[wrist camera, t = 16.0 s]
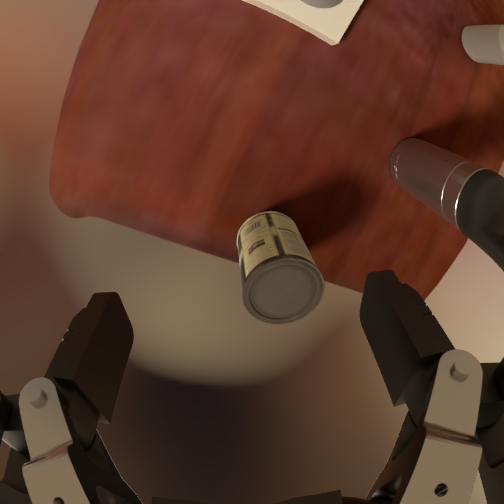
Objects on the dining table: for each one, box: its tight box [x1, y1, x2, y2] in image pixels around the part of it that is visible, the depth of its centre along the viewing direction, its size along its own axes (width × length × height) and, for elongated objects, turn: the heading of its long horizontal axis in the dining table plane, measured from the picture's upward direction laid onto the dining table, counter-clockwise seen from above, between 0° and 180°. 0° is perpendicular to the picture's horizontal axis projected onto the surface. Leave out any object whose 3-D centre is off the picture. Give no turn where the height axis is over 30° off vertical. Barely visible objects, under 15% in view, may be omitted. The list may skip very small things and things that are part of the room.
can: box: [462, 25, 504, 65], centre depth 26 cm, size 8×8×12 cm
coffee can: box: [237, 211, 325, 324], centre depth 42 cm, size 10×10×14 cm
